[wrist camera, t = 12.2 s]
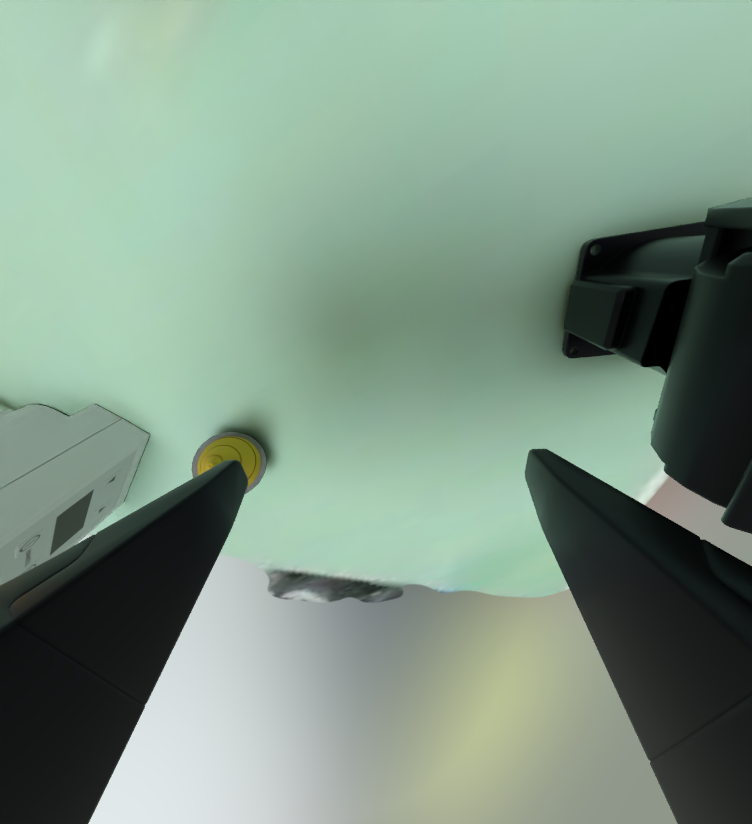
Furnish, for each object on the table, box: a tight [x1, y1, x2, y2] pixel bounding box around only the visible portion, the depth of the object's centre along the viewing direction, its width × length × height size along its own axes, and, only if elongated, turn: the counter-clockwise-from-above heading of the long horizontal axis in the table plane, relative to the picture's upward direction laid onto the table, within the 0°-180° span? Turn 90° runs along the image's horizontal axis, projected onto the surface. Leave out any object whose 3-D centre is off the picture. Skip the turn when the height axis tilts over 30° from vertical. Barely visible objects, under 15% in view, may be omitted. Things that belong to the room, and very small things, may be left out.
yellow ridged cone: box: [192, 432, 266, 494], centre depth 21 cm, size 5×5×10 cm
